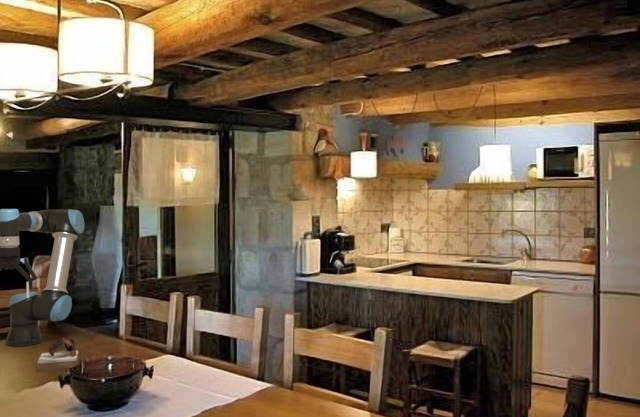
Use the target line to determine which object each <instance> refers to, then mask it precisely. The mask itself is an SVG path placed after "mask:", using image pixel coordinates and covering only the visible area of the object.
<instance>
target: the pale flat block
mask: <svg viewBox="0 0 640 417" xmlns="http://www.w3.org/2000/svg"><path fill="white" fill-rule="evenodd" d="M75 351H76V355H75V356H74V357H72V354H71V352H72V351H67V350H61V351H58V353H56V352H55V353H54V355H53V356H52V355H51V354H49V352H42V353H41V354H40V356H39V357H38V360H37V373H41V372H42V373H43V372H53V371H64V370H66V371H67V370H70V369H69V368H72V367H74V366H76V365H77V366H78V364H79V360H80V357H79V352H80V351H79V350H78V349H75Z"/></svg>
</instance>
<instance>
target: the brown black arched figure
mask: <svg viewBox="0 0 640 417" xmlns="http://www.w3.org/2000/svg"><path fill="white" fill-rule="evenodd" d="M59 349H65V350H66V351H72V352H71V354H72V357H74V356H75V355H76V351H75V350H76V348H75V340H74V339H73V338H72V337H68V338H67V339H66V337H62V338H59V339H58V340H55V341H54V342H53V343H52V344H51V345H50V346H48V348H47V350H49V354H51V355H52V356H53V355H54V353H55V352H56V353H58V352H59Z"/></svg>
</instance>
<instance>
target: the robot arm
mask: <svg viewBox="0 0 640 417" xmlns="http://www.w3.org/2000/svg"><path fill="white" fill-rule="evenodd" d="M84 218H85V217H84V215H83V213H82V212H81V211H80V210H78V209H72V208H71V209H70V208H69V209H44V210H35V211H34V210H33V211H29V212H20V211H19V209H17V208H1V209H0V272H1V271H2V270H5V271H7V270H15V269H16V270H17V271H18V272H19V273H20V274H21V275H22V276H23V277H24V278H25V279H26V292H22V293H18V294H14V295H12V296H11V297H10V299H9V324H10V325H9V326H10V327H9V331H8V334H7V337H6V340H5V342H6V343H5V344H6V346H8V347H28V346H33V345H36V344H40V343H42V342H43V335H42V333H41V329H40V326H39V321H47V322H49V321H51V322H57V321H58V322H59V321H63V320H66V319H67V317H68V316H69V315H70V313H71V310H72V306H73V302H72V298H71V296H70V295H69V292H68V290H67V284H68V278H69V272H70V267H71V259H72V254H73V248H74V242H75V241H76V240H77V239H78V238H79V235H80V234H82V233H83V232H84V231H85V220H84ZM21 231H22V232H23V231H29V232H35V233H36V232H37V233H45V234H51V235H52V237H53V238H54V240H53V241H54V242H53V246H52V253H51V258H50V263H49V268H48V273H47V274H48V276H47V280H46V286H45V287H44V288H43V289H41V294H38V292H37V291H30V290H32V289H33V282H34V281H36V280H37V279H38V276H37V274H36V272H34V270H33V267H32V266H31V264H30V263H29V258H28V257H23V258H21V257H20V232H21ZM21 262H22V264H24V265H25V268H26V269H27V271H28V272H29V274H28V273H27V272H26V271H25V269H23V268H22V266H21V265H20V263H21Z"/></svg>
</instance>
